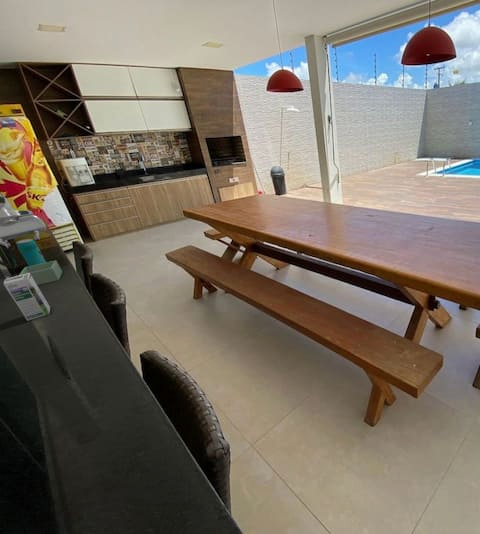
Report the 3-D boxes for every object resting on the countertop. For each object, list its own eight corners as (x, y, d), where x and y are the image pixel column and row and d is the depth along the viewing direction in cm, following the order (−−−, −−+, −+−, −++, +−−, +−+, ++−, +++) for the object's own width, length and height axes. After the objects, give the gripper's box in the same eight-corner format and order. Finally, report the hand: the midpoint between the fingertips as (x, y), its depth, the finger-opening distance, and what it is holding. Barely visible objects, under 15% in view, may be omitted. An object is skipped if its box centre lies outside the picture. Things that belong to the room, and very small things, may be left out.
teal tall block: (52, 270, 140) (35, 239, 134) (36, 275, 136) (17, 244, 129) (47, 267, 143) (30, 237, 136) (31, 273, 139) (13, 242, 132)
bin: (26, 288, 125) (18, 275, 122) (31, 279, 133) (24, 267, 130) (58, 280, 130) (52, 268, 127) (62, 272, 138) (56, 260, 135)
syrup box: (26, 321, 102) (2, 283, 95) (29, 314, 106) (5, 277, 100) (49, 314, 105) (27, 277, 99) (51, 307, 109) (29, 271, 103)
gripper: (-30, 222, 128) (-12, 247, 127) (35, 209, 143) (52, 232, 142) (-26, 230, 132) (-8, 255, 131) (37, 217, 147) (54, 240, 146)
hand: (24, 243), depth 137 cm, fingers open, 8 cm apart
